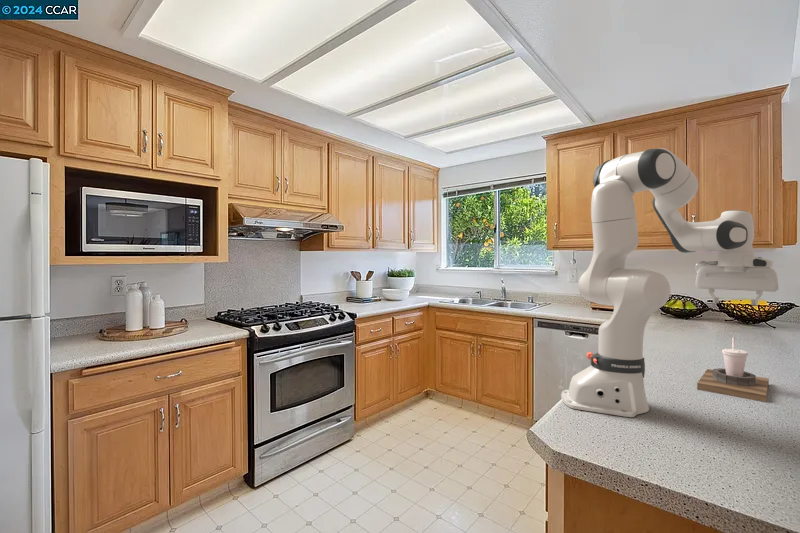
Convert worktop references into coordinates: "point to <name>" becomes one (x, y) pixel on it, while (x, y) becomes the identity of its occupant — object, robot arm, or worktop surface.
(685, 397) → the worktop surface
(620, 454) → the worktop surface
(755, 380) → the stand
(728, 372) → the smoothie
